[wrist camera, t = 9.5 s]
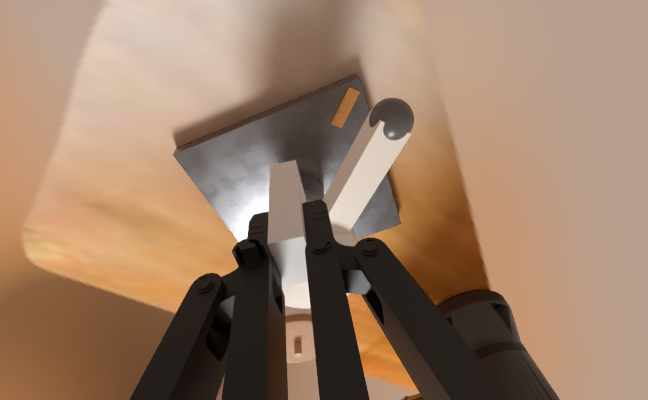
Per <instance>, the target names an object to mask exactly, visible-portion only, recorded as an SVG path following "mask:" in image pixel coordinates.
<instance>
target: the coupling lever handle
mask: <svg viewBox="0 0 648 400" xmlns="http://www.w3.org/2000/svg"><path fill="white" fill-rule="evenodd" d="M413 123H414V116H413V112H412V109H411V108H410V106H409V105H408V104H407V103H406V102H405V101H403V100H401V99H398V98H387V99H384V100H382V101H380V102H379V103H377V104H376V105H375V106H374V108H372V109H371V111H370V112H369V114H368V116H367V118H366V120H365V122H364V124H363V125H362V127H361V129H360V131H359V133H358V135H357V137H356V138H355V140H354V142H353V144H352V146H351V148H350V150H349V151H348V153H347V155H346V157H345V159H344V161H343V163H342V164H341V166H340V168H339V170H338V172H337V174H336V176H335V178H334V179H333V181H332V183H331V185H330V187H329V189H328V191H327V192H326V194H325V196H324V198H323V201H324V202H325V203H326V204H327V209H328V213H329V218H330V222H331V227H332V231H333V236H334V238H335V240H336V241H337V242H338V243H340V244H342V245H345V246H355V245H356V244H357V238H356V235H355V232H354V229H353V225H354V224H355V222H356V221H357V219H358V217H359V216H360V214H361V213H362V211H363V210H364V208H365V206H366V205H367V203H368V202H369V200H370V199H371V197H372V195H373V194H374V192H375V191H376V189H377V187H378V186H379V184H380V183H381V181H382V180H383V178H384V176H385V175H386V173H387V172H388V170H389V169H390V167H391V165H392V164H393V162H394V161H395V159H396V157H397V156H398V154H399V153H400V151H401V150H402V148H403V146H404V145H405V143H406V142H407V140H408V139H409V137H410V135H411V133H410V131H411V129H412V127H413ZM282 290H283V293H284V296H285V306H288V307H293V308H305V309H306V308H311V307H310V297H309V287H308V282H305V283H301V284H296V285H292V286H287V287H284V285H283V282H282ZM349 294H350V293H346V295H347V296H348V295H349Z"/></svg>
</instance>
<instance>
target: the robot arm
mask: <svg viewBox="0 0 648 400" xmlns="http://www.w3.org/2000/svg"><path fill="white" fill-rule="evenodd" d="M232 253H233V255H234V257H235V259H236V261H237V263H238V265H239V267H238V268H237V269H236V270H235V271H233V272H231V273H229V274H227V275H225V276H223V277H220V276H219V275H218V274H215V273H209V274H205V275H203V276H201V277H199V278H198V279H197V280H195V281H194V283H193V284H192V285H191V287H190V289H189V290H188V292H187V294H186V296H185V298H184V300H183V302H182V303H181V305H180V307H179V309H178V311H177V313H176V315H175V316H174V318H173V320H172V322H171V324H170V326H169V328H168V329H167V331H166V333H165V335H164V337H163V339H162V341H161V343H160V344H159V346H158V348H157V350H156V352H155V353H154V355H153V357H152V359H151V361H150V363H149V365H148V366H147V368H146V370H145V372H144V374H143V376H142V377H141V379H140V381H139V383H138V385H137V387H136V389H135V390H134V393H133V394H132V396H131V398H130V400H216V396H217V394H218V391H219V388H220V385H221V382H222V379H223V376H224V374H225V379H224V385H223V394H222V400H288V389H287V388H288V386H287V353H286V320H285V296H284V293H283V290H282V282H283V285H284V287H287V286H292V285H296V284H301V283H305V282H308V287H309V297H310V307H311V317H312V327H313V336H314V346H315V356H316V366H317V376H318V386H319V396H320V400H369V395H368V391H367V386H366V381H365V377H364V372H363V368H362V363H361V359H360V354H359V349H358V345H357V340H356V336H355V331H354V327H353V322H352V317H351V313H350V308H349V304H348V299H347V295H346V293H354V294H362V297H363V298H364V300H365V302H366V303H367V305H368V307H369V309H370V310H371V312H372V314H373V315H374V317H375V319H376V320H377V322H378V324H379V325H380V327H381V329H382V330H383V332H384V334H385V335H386V337H387V339H388V340H389V342H390V344H391V345H392V347H393V349H394V350H395V352H396V354H397V355H398V357H399V359H400V360H401V362H402V364H403V365H404V367H405V369H406V371H407V372H408V374H409V376H410V377H411V379H412V381H413V382H414V384H415V386H416V387H417V389H418V391H419V392H420V393H419V394H416V395H412V396H409V397H408V396H405V397H404V398H402V399H401V400H560V399H559V398H558V396H557V395H556V393H555V392H554V390H553V389H552V387H551V386H550V384H549V383H548V381H547V380H546V379H545V377H544V375H543V374H542V373H541V371H540V370H539V368H538V367H537V365H536V364H535V362H534V361H533V359H532V358H531V356H530V355H529V353H528V352H527V350H526V349H525V347H524V346H523V344H522V343H521V341H520V337H519V334H518V331H517V327H516V324H515V321H514V317H513V314H512V311H511V309H510V306H509V305H508V303H507V302H506V301H505V299H504V298H503V297H502V295H500V294H499V293H497V292H494V291H489V290H478V291H471V292H467V293H463V294H460V295H458V296H455V297H453V298H451V299H449V300H447V301H446V302H444V303H442V304H441V305H440V306H438V307H436V305H435V304H434V303H433V302H432V301H431V299H430V298H429V297H428V296H427V294H426V293H425V292H424V291H423V290H422V288H421V287H420V286H419V285H418V283H417V282H416V281H415V280H414V279H413V277H412V276H411V275H410V274H409V272H408V271H407V270H406V269H405V268H404V266H403V265H402V264H401V263H400V261H399V260H398V259H397V258H396V257H395V255H394V254H393V253H392V252H391V250H390V249H389V248H388V247H387V246H386V244H385V243H384V242H382V241H381V240H379V239H376V238H366V239H362V240H361V241H359V242H357V244H356V245H355V246H345V245H342V244H340V243H338V242H337V241H336V240H335V238H334V236H333V231H332V227H331V222H330V218H329V213H328V209H327V204H326V203H325V202H324V201H323V200H322V199H319V200H314V201H310V202H306V197H305V193H304V190H303V186H302V182H301V178H300V174H299V171H298V167H297V163H296V160H293V161H288V162H283V163H279V164H274V165H270V182H269V211H267V212H263V213H258V214H254V215H253V216H252V218H251V219H250V221H249V226H248V236H247V238H246V239H243V240H242V241H240V242H239V243H237V244H236V245H235V247H234V248H233V251H232Z"/></svg>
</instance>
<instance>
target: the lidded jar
mask: <svg viewBox="0 0 648 400" xmlns="http://www.w3.org/2000/svg"><path fill="white" fill-rule="evenodd" d="M285 320H286V353H287V363H298V362H304V361H309V360H312V359H315V358H316V356H315V346H314V336H313V327H312V317H311V308H306V309H305V308H293V307H288V306H285Z"/></svg>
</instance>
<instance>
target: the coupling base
mask: <svg viewBox="0 0 648 400" xmlns="http://www.w3.org/2000/svg"><path fill="white" fill-rule="evenodd" d="M368 114H369V109H368V105H367V102H366V98H365V95H364V91H363V88H362V84H361V81H360V78H359V76H358V75H357V74H354V75H352V76H350V77H347V78H345V79H342V80H340V81H338V82H335V83H333V84H330V85H328V86H326V87H323V88H321V89H318V90H316V91H313V92H311V93H309V94H306V95H304V96H301V97H299V98H297V99H294V100H292V101H289V102H287V103H284V104H282V105H280V106H277V107H275V108H272V109H270V110H268V111H265V112H263V113H260V114H258V115H256V116H253V117H251V118H248V119H246V120H243V121H241V122H239V123H236V124H234V125H231V126H229V127H227V128H224V129H222V130H219V131H217V132H214V133H212V134H210V135H207V136H205V137H202V138H200V139H198V140H195V141H193V142H190V143H188V144H185V145H183V146H181V147H178V148H176V150H175V152H174V154H173V156H174V157H175V158H176V160H177V161H178V162H179V164H180V165H181V166H182V167H183V169H184V170H185V171H186V173H187V174H188V175H189V177H190V178H191V179H192V181H193V182H194V183H195V185H196V186H197V187H198V189H199V190H200V191H201V192H202V194H203V195H204V196H205V198H206V199H207V200H208V202H209V203H210V204H211V206H212V207H213V208H214V210H215V211H216V212H217V213H218V215H219V216H220V217H221V219H222V220H223V221H224V223H225V224H226V225H227V227H228V228H229V229H230V231H231V232H232V233H233V235H234V236H235V237H236V238H237V240H238V241H239V242H240V241H242V240H243V239H246V238H247V236H248V226H249V221H250V219H251V218H252V216H253V215H254V214H258V213H263V212H267V211H269V182H270V165H274V164H279V163H283V162H288V161H293V160H296V163H297V167H298V171H299V174H300V178H301V182H302V186H303V190H304V193H305V197H306V202H310V201H314V200H319V199H322V200H323V198H324V196H325V194H326V192H327V191H328V189H329V187H330V185H331V183H332V181H333V179H334V178H335V176H336V174H337V172H338V170H339V168H340V166H341V164H342V163H343V161H344V159H345V157H346V155H347V153H348V151H349V150H350V148H351V146H352V144H353V142H354V140H355V138H356V137H357V135H358V133H359V131H360V129H361V127H362V125H363V124H364V122H365V120H366V118H367V116H368ZM399 224H401V221H400V218H399V214H398V211H397V207H396V204H395V200H394V197H393V193H392V190H391V186H390V183H389V179H388V176H387V173H386V175H385V176H384V178H383V180H382V181H381V183H380V184H379V186H378V187H377V189H376V191H375V192H374V194H373V195H372V197H371V199H370V200H369V202H368V203H367V205H366V206H365V208H364V210H363V211H362V213H361V214H360V216H359V217H358V219H357V221H356V222H355V224H354V225H353V229H354V232H355V235H356V238H357V239H360V238H363V237H365V236H368V235H371V234H374V233H377V232H379V231H382V230H385V229H388V228H391V227H394V226H396V225H399Z"/></svg>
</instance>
